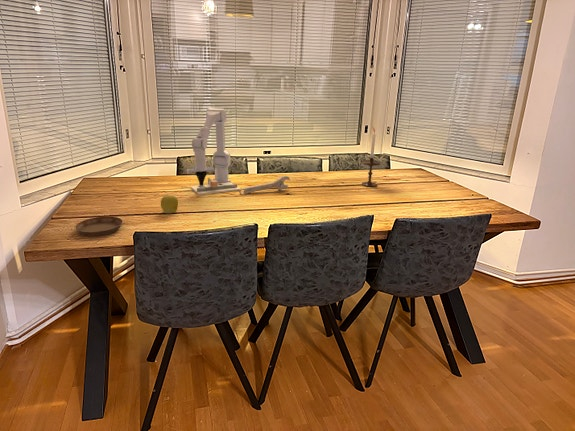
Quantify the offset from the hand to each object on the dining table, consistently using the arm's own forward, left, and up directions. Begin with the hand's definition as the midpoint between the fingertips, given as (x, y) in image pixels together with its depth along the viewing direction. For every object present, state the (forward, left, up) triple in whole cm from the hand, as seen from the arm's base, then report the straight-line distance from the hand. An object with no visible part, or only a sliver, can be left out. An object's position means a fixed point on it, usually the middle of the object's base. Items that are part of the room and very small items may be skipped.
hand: (201, 185), depth 220 cm
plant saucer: (+37, -54, -5) cm, 66 cm away
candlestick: (+24, +97, -4) cm, 100 cm away
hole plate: (-4, +9, -4) cm, 11 cm away
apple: (+26, -23, -5) cm, 35 cm away
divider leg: (-4, +7, -3) cm, 8 cm away
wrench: (+12, +33, -5) cm, 35 cm away
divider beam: (-4, +9, -4) cm, 11 cm away
